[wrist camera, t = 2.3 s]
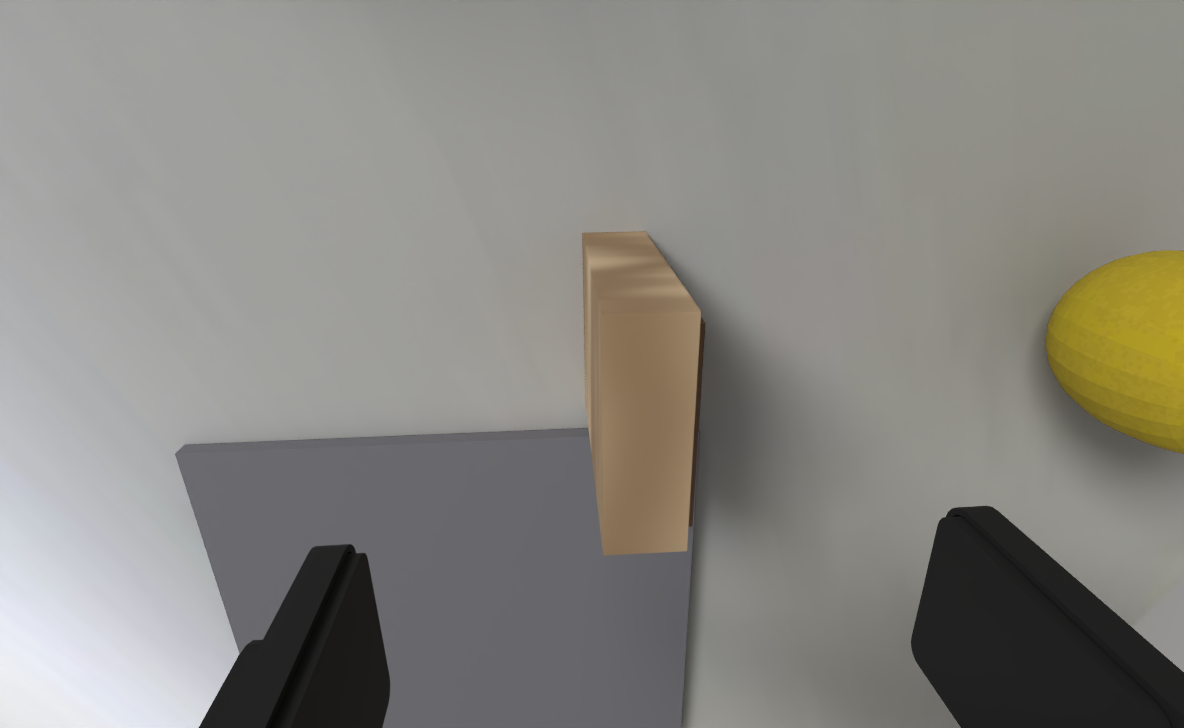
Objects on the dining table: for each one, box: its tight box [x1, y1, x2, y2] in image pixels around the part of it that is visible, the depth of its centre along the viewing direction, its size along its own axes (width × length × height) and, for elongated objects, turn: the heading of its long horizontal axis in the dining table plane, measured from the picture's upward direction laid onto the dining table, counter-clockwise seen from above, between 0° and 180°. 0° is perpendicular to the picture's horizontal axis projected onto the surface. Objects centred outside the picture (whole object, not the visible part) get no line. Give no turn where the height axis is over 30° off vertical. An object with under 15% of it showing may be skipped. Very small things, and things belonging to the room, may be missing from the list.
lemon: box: [1046, 251, 1184, 454], centre depth 18 cm, size 6×6×8 cm
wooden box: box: [582, 231, 705, 556], centre depth 17 cm, size 2×6×8 cm, turn 1°
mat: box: [175, 428, 700, 728], centre depth 25 cm, size 18×16×1 cm
